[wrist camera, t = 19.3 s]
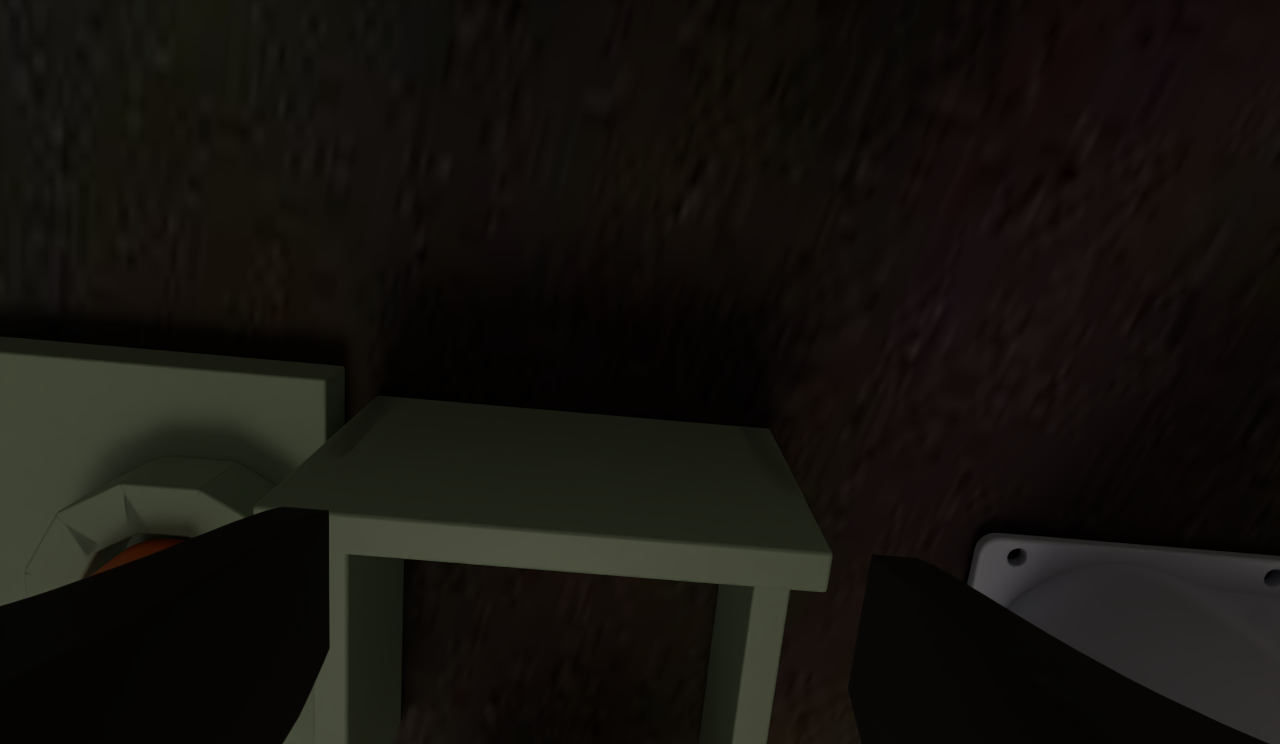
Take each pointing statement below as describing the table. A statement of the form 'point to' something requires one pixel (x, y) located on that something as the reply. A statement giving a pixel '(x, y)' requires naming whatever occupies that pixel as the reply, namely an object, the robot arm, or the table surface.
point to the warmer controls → (143, 452)
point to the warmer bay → (552, 535)
